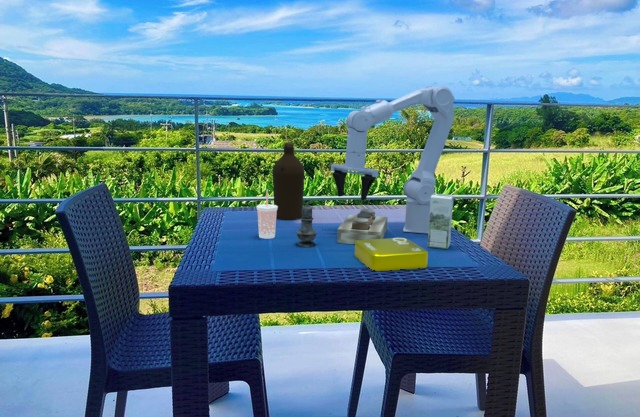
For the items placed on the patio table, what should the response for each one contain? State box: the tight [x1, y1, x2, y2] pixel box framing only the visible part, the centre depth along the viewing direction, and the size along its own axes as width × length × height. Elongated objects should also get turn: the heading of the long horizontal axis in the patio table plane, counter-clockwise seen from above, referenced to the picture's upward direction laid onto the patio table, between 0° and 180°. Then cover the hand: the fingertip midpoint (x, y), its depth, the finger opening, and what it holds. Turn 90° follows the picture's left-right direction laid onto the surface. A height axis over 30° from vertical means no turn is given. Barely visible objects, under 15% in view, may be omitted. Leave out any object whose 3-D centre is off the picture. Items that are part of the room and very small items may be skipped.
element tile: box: [354, 237, 429, 272], centre depth 143 cm, size 15×15×5 cm
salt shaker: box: [295, 201, 318, 248], centre depth 155 cm, size 6×6×12 cm
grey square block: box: [336, 214, 388, 245], centre depth 167 cm, size 12×20×4 cm, turn 168°
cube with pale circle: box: [352, 218, 370, 230], centre depth 160 cm, size 4×4×4 cm
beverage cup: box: [256, 188, 278, 240], centre depth 163 cm, size 6×6×14 cm
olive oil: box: [272, 141, 306, 221], centre depth 188 cm, size 11×11×25 cm
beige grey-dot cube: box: [356, 212, 372, 225], centre depth 166 cm, size 4×4×4 cm
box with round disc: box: [359, 208, 376, 220], centre depth 173 cm, size 4×4×4 cm
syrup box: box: [427, 193, 454, 250], centre depth 157 cm, size 6×6×14 cm
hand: (351, 197), depth 168 cm, fingers open, 7 cm apart
